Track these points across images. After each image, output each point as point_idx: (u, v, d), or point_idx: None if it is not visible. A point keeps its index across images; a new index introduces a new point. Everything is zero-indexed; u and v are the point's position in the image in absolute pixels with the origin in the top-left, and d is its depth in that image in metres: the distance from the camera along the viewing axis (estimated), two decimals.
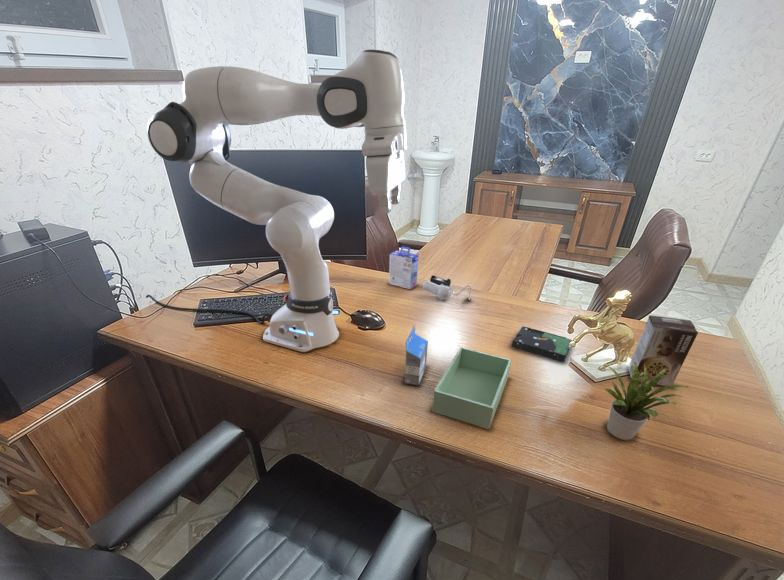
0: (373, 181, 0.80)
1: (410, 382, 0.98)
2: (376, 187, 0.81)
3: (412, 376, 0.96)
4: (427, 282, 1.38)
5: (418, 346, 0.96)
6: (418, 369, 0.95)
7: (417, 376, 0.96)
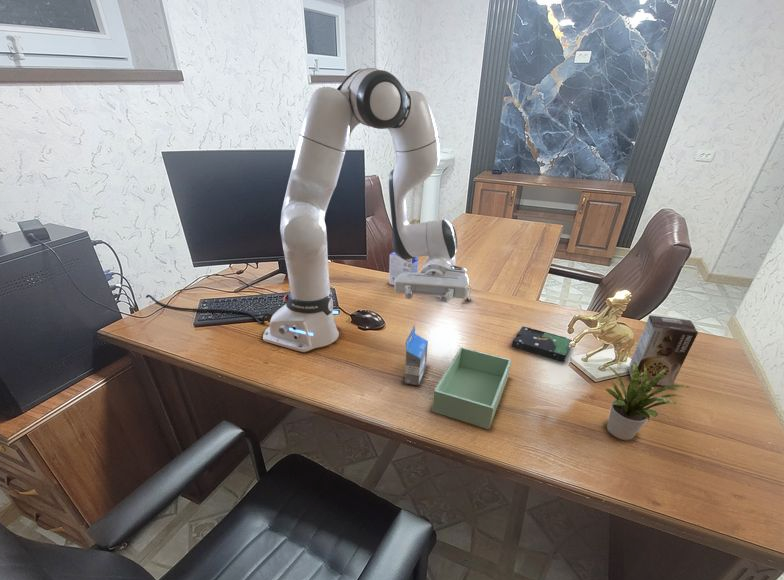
0: None
1: (410, 382, 0.98)
2: (467, 289, 1.03)
3: (412, 376, 0.96)
4: None
5: (418, 346, 0.96)
6: (418, 369, 0.95)
7: (417, 376, 0.96)
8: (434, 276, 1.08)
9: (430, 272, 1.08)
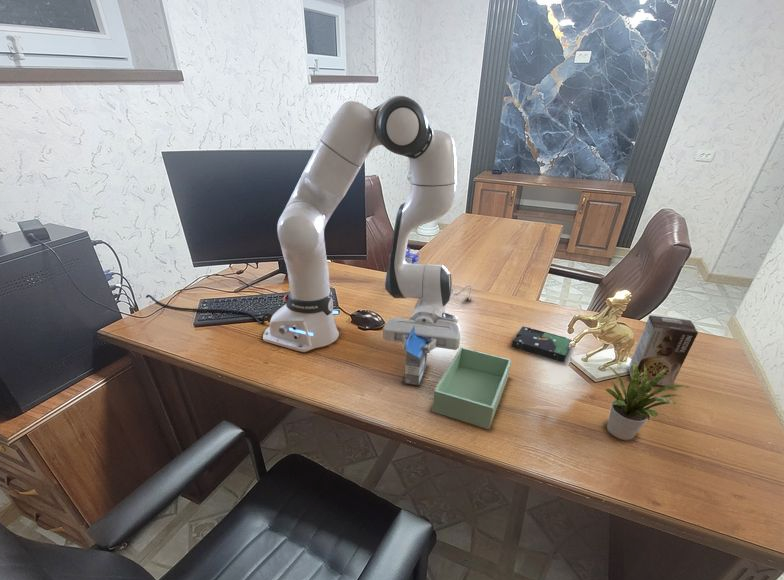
0: None
1: (410, 382, 0.98)
2: (459, 340, 0.99)
3: (412, 376, 0.96)
4: None
5: (418, 346, 0.96)
6: (418, 369, 0.95)
7: (417, 376, 0.96)
8: (424, 324, 1.03)
9: (420, 320, 1.03)
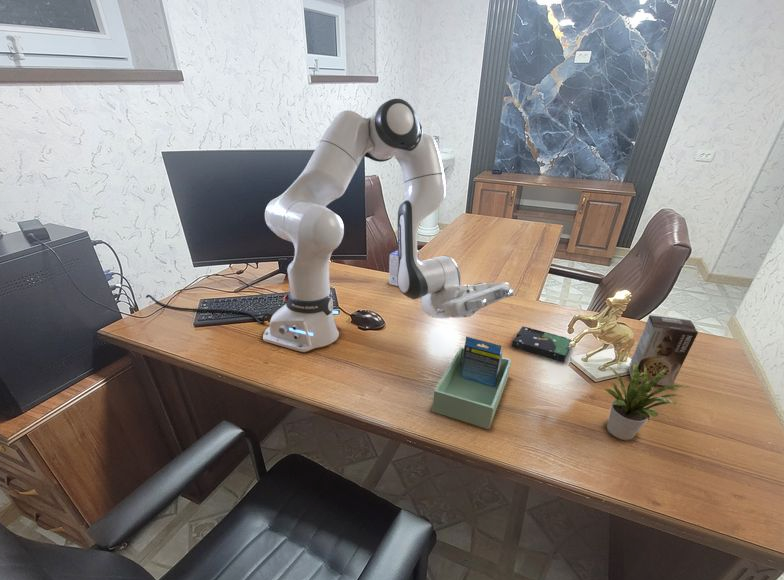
0: None
1: None
2: None
3: (497, 374, 0.96)
4: None
5: None
6: (500, 364, 0.96)
7: None
8: (470, 294, 1.04)
9: (465, 292, 1.04)
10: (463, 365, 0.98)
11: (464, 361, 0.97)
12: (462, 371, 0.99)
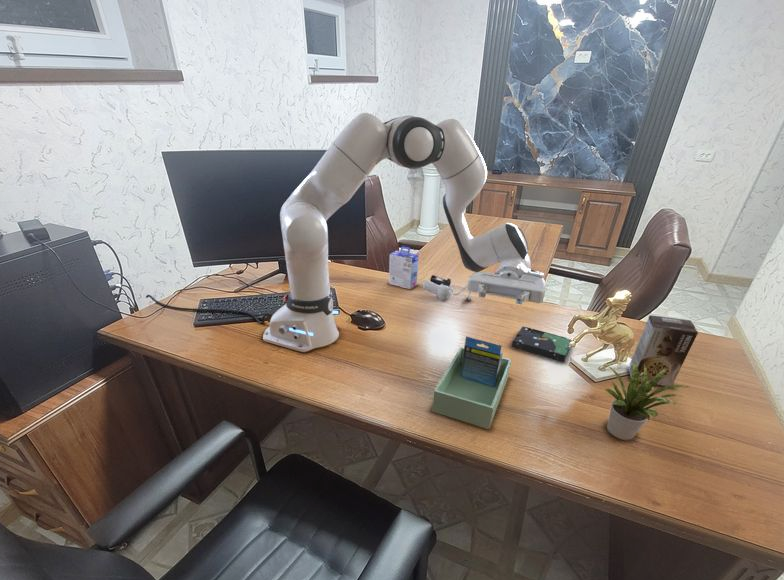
0: None
1: None
2: (544, 294, 1.00)
3: (497, 374, 0.96)
4: (427, 282, 1.38)
5: None
6: (500, 364, 0.96)
7: None
8: (509, 278, 1.06)
9: (505, 274, 1.06)
10: (463, 365, 0.98)
11: (464, 361, 0.97)
12: (462, 371, 0.99)
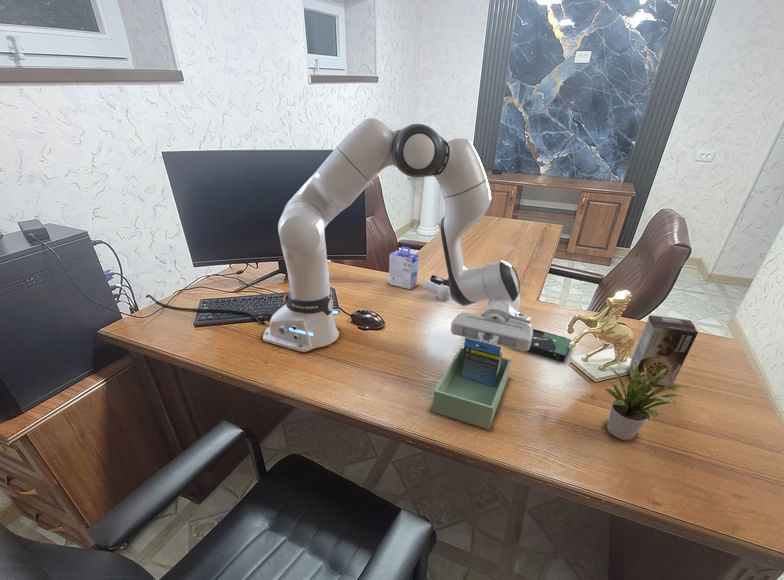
0: None
1: None
2: None
3: (497, 374, 0.96)
4: (427, 282, 1.38)
5: None
6: (500, 364, 0.96)
7: None
8: (495, 322, 1.01)
9: (492, 317, 1.01)
10: (463, 365, 0.97)
11: (464, 361, 0.97)
12: (462, 371, 0.99)
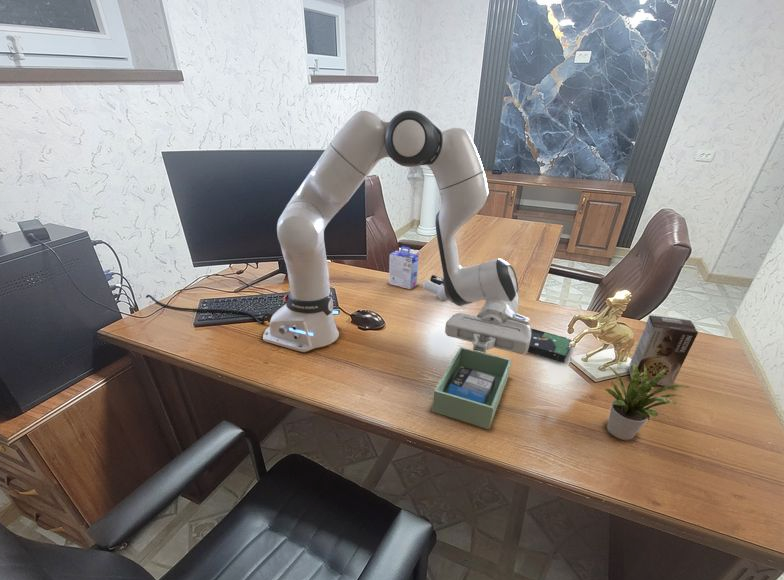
0: None
1: (493, 384, 0.95)
2: None
3: (492, 387, 0.93)
4: (427, 282, 1.38)
5: (466, 396, 0.90)
6: (489, 388, 0.91)
7: (492, 384, 0.92)
8: (492, 323, 0.96)
9: (488, 318, 0.96)
10: None
11: None
12: None
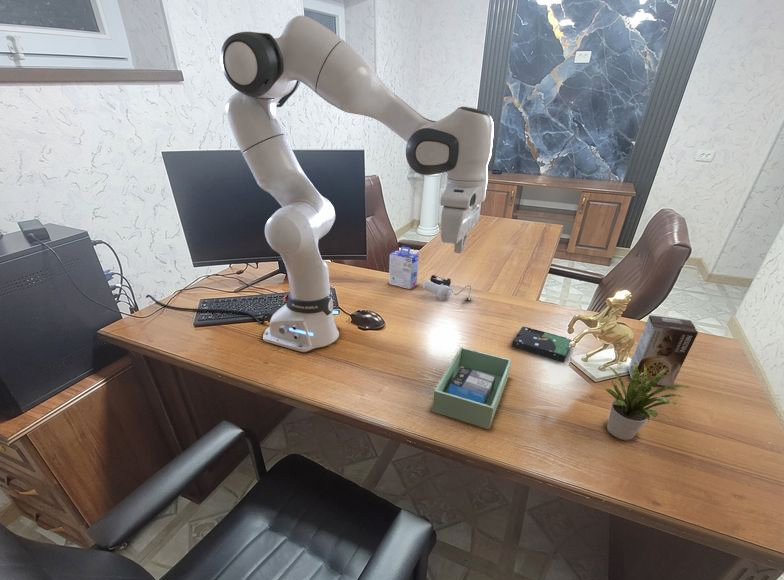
0: (445, 230, 0.84)
1: (493, 384, 0.95)
2: (447, 236, 0.85)
3: (492, 387, 0.93)
4: (427, 282, 1.38)
5: (466, 396, 0.90)
6: (489, 388, 0.91)
7: (492, 384, 0.92)
8: None
9: None
10: None
11: None
12: None
